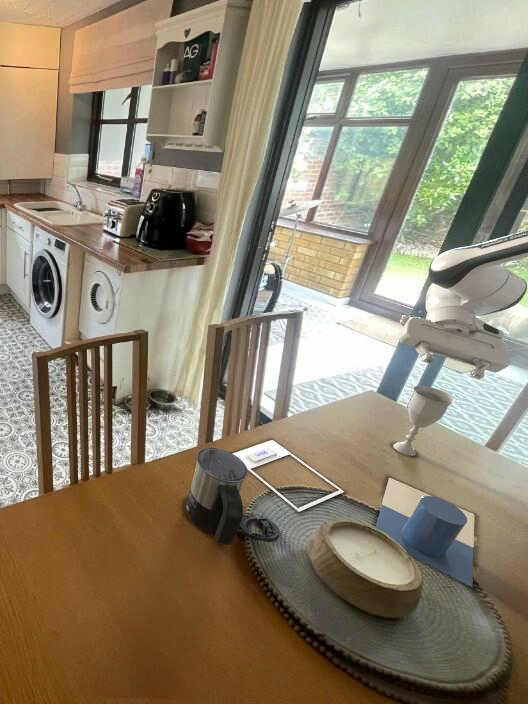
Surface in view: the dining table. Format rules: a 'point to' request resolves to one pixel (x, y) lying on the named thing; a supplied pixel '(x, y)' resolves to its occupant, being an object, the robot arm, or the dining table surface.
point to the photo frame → (272, 452)
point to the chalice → (424, 413)
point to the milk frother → (223, 498)
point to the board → (392, 523)
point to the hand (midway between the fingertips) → (452, 369)
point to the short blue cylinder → (433, 526)
